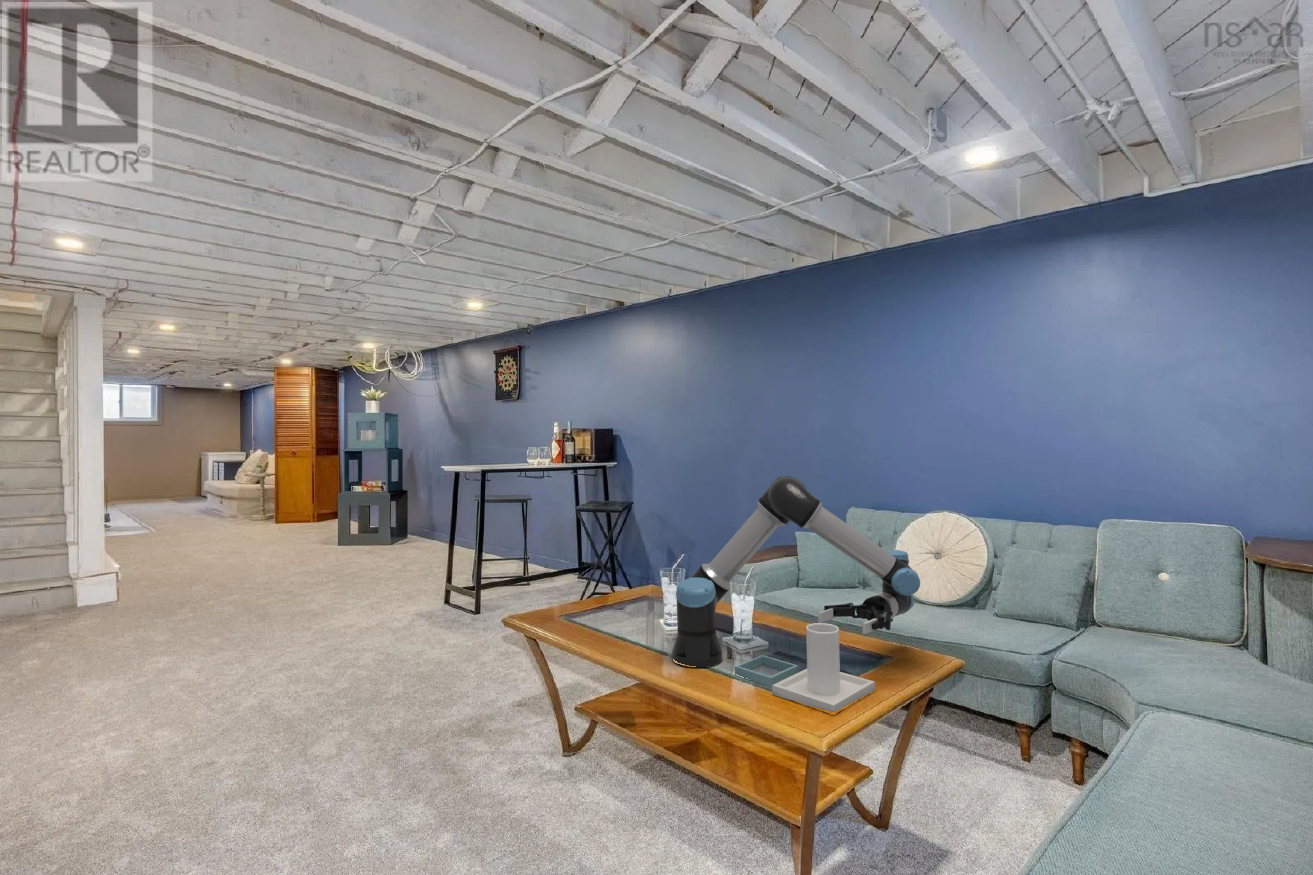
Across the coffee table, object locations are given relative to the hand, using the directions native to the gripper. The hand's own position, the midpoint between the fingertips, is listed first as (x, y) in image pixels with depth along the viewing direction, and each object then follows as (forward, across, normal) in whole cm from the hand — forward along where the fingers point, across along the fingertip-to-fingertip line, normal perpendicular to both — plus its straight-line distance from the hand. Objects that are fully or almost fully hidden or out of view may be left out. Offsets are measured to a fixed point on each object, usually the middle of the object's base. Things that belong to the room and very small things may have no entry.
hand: (840, 623), depth 174 cm
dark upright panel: (-16, +58, -17) cm, 62 cm away
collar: (+11, +17, -16) cm, 26 cm away
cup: (+11, -1, -15) cm, 18 cm away
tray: (+11, -1, -16) cm, 19 cm away
